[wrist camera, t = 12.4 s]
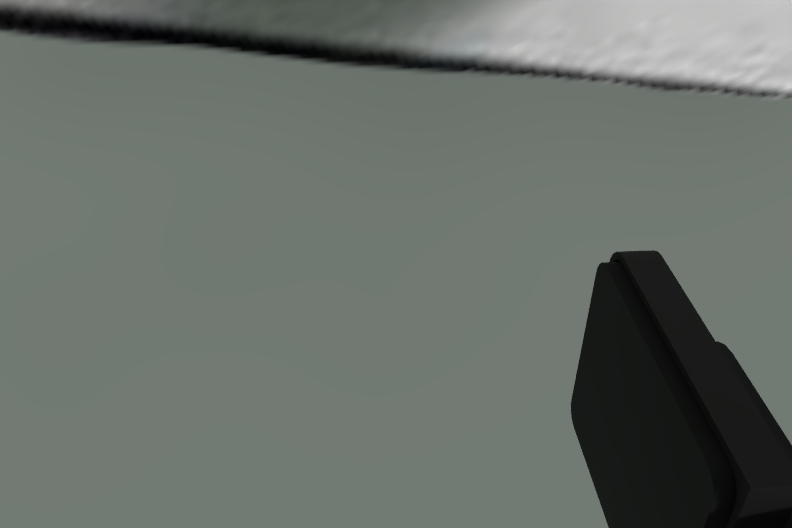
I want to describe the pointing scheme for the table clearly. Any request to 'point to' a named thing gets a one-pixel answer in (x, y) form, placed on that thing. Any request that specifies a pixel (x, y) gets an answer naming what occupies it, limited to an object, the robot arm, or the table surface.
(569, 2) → the table surface
